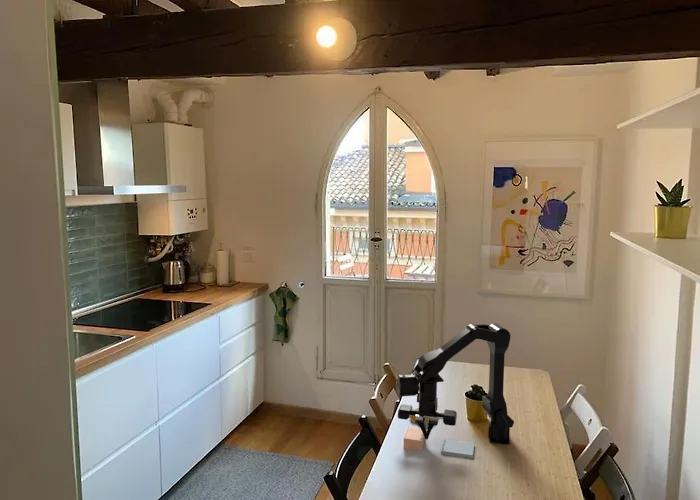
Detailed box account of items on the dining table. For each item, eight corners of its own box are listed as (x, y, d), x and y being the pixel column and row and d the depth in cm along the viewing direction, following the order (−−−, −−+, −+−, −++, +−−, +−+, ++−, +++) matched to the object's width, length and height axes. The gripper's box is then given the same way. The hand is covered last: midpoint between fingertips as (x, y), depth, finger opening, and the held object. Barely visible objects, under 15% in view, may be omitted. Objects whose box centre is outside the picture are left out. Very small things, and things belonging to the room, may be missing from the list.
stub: (425, 439, 184) (425, 429, 183) (421, 451, 176) (422, 440, 176) (407, 436, 185) (407, 426, 185) (403, 448, 178) (403, 437, 177)
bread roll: (424, 428, 192) (424, 418, 191) (406, 419, 199) (406, 409, 198) (439, 421, 197) (440, 411, 197) (421, 413, 204) (421, 403, 203)
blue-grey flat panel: (474, 446, 179) (474, 442, 179) (472, 458, 172) (472, 454, 172) (443, 441, 182) (443, 438, 182) (440, 453, 174) (441, 450, 174)
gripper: (458, 388, 182) (457, 431, 184) (403, 381, 187) (403, 424, 189) (456, 401, 172) (454, 447, 174) (397, 394, 177) (397, 439, 179)
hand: (426, 439), depth 179 cm, fingers closed
